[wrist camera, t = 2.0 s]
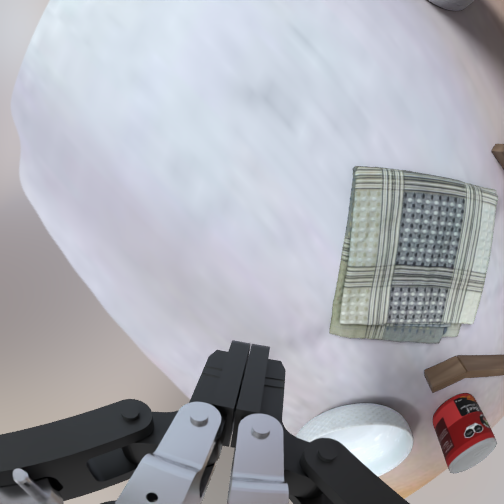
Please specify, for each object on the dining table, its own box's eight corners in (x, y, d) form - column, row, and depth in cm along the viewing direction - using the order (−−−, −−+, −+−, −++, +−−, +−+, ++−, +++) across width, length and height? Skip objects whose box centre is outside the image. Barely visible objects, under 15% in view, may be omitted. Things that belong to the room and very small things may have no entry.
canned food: (479, 398, 32) (503, 443, 21) (445, 428, 34) (462, 475, 24) (460, 385, 31) (486, 437, 21) (423, 419, 34) (440, 472, 24)
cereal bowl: (359, 365, 32) (369, 406, 25) (421, 412, 34) (433, 446, 27) (267, 427, 37) (261, 464, 31) (338, 462, 39) (339, 494, 32)
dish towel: (348, 161, 26) (355, 162, 23) (491, 188, 24) (507, 192, 21) (326, 332, 32) (328, 349, 29) (455, 334, 30) (465, 347, 27)
